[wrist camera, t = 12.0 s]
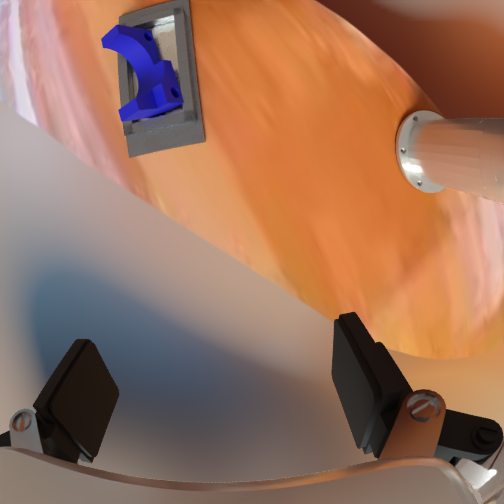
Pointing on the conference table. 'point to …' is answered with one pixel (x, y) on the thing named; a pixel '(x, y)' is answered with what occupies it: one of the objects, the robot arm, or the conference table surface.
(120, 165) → the conference table surface
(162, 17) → the grey rectangular tray
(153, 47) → the cable clip
